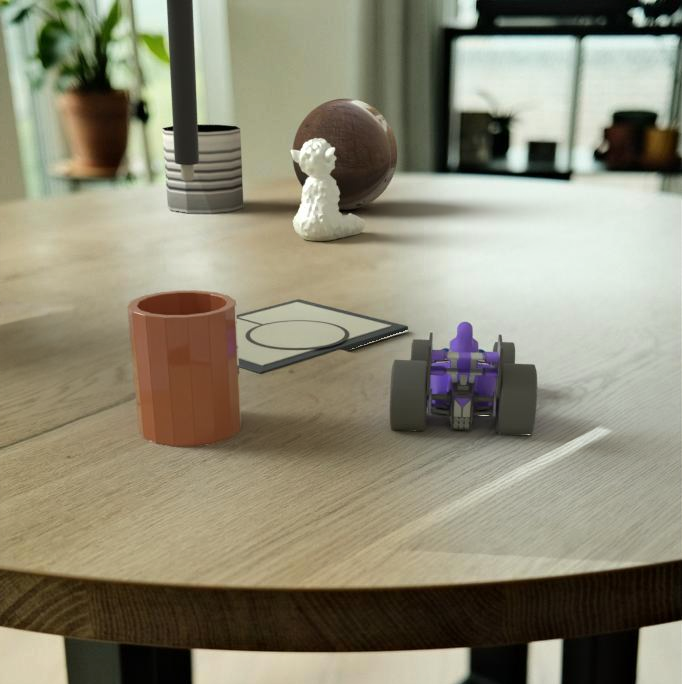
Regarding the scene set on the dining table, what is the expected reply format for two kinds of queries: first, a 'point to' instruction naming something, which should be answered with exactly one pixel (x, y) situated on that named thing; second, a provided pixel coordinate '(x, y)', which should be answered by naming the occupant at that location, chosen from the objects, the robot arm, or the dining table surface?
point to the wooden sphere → (352, 149)
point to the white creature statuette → (321, 196)
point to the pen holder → (185, 367)
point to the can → (207, 172)
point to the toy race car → (463, 385)
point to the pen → (183, 85)
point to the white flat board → (302, 333)
